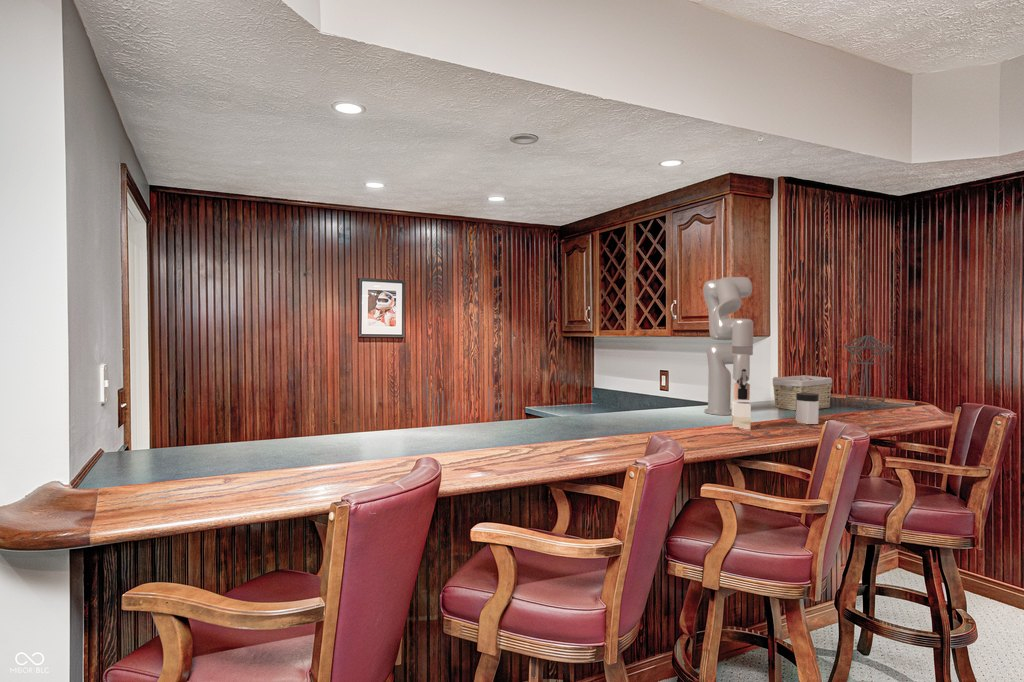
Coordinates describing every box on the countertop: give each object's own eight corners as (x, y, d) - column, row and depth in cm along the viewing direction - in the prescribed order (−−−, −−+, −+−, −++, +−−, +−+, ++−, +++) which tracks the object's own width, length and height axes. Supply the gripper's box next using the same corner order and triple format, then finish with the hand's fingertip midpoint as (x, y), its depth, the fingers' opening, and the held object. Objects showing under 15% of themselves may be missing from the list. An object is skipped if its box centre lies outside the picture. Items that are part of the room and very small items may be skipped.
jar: (822, 423, 234) (823, 394, 234) (813, 425, 229) (814, 395, 229) (800, 420, 241) (800, 391, 241) (790, 422, 236) (791, 393, 236)
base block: (731, 426, 227) (731, 414, 227) (747, 427, 225) (747, 414, 225) (733, 429, 221) (733, 416, 221) (750, 430, 220) (750, 417, 219)
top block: (733, 397, 226) (734, 382, 226) (747, 398, 225) (747, 383, 224) (735, 399, 221) (735, 384, 221) (749, 400, 220) (749, 384, 220)
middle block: (731, 414, 227) (731, 401, 226) (747, 414, 225) (748, 402, 225) (733, 416, 221) (734, 403, 221) (750, 417, 219) (750, 404, 219)
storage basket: (800, 412, 263) (801, 380, 262) (770, 407, 277) (770, 376, 277) (833, 408, 274) (834, 377, 274) (802, 404, 289) (803, 374, 288)
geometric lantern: (838, 406, 281) (841, 334, 280) (866, 406, 284) (869, 335, 283) (863, 411, 265) (866, 335, 265) (893, 411, 268) (896, 335, 267)
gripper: (728, 349, 231) (728, 395, 232) (735, 352, 215) (734, 400, 215) (748, 350, 229) (748, 395, 230) (756, 352, 213) (755, 401, 214)
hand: (741, 397), depth 223 cm, fingers closed on top block, 4 cm apart
